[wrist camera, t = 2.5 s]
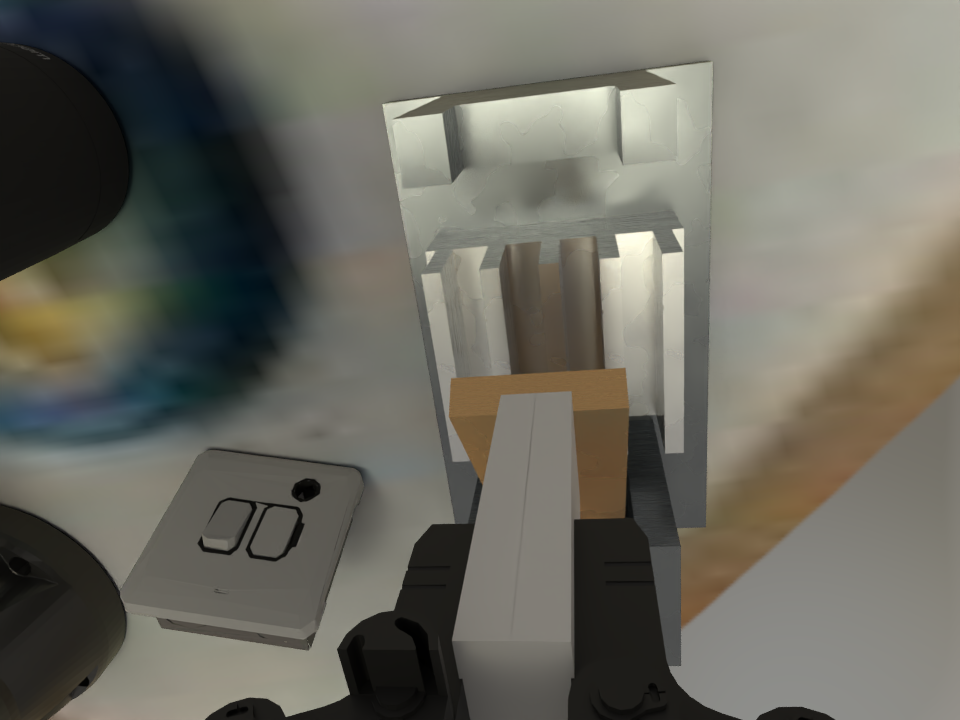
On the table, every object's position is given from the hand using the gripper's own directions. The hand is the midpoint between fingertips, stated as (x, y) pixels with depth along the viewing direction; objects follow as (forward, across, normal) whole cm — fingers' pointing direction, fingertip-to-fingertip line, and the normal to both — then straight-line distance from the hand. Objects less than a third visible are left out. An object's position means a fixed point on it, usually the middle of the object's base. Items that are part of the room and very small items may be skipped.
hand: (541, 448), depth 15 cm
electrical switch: (+18, -16, -14) cm, 27 cm away
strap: (+6, 0, -5) cm, 8 cm away
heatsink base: (+17, 0, -5) cm, 18 cm away
